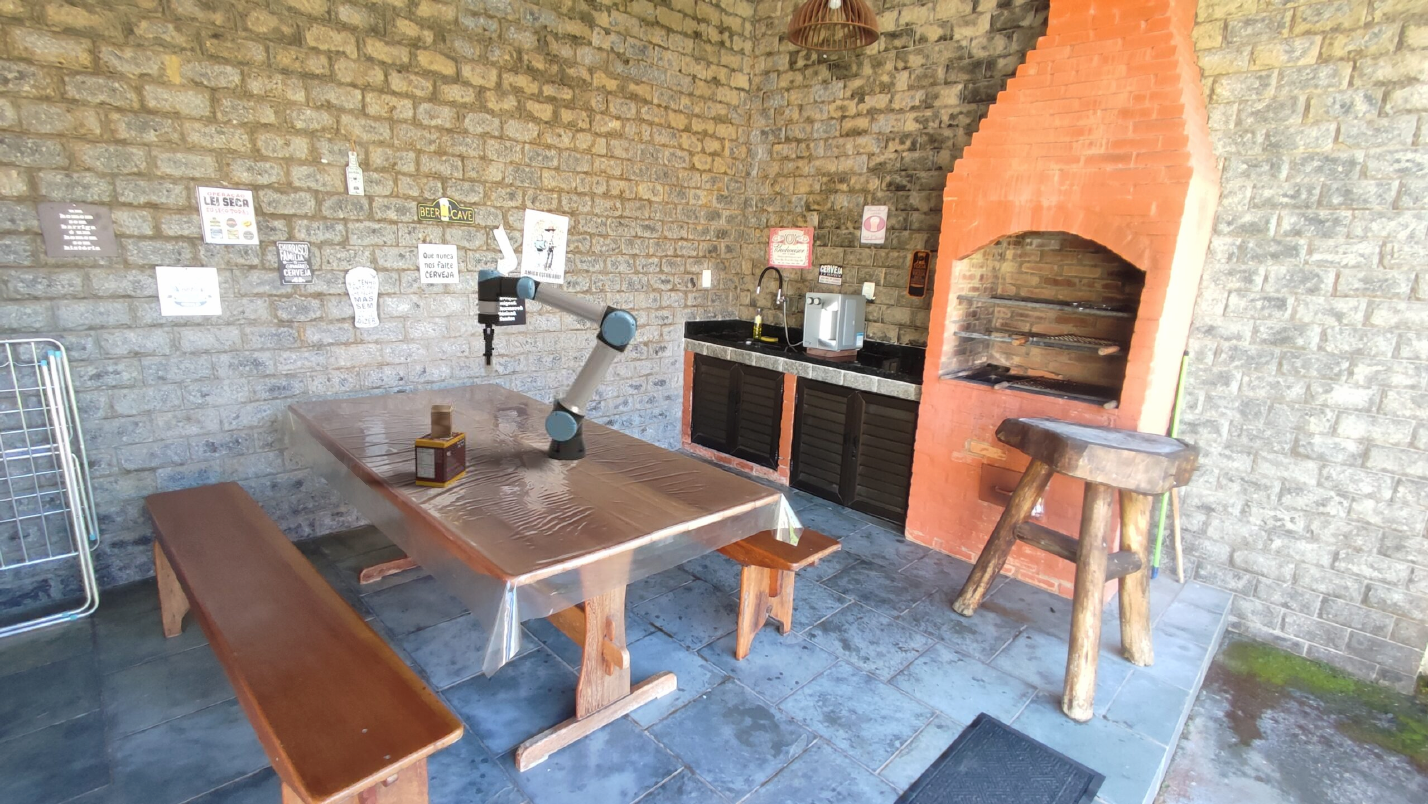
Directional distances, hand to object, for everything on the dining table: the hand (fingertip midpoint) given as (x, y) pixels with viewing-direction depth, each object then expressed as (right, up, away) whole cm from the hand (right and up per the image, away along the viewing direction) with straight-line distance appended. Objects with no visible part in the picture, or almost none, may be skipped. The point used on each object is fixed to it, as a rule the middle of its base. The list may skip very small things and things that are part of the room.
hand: (488, 370), depth 241 cm
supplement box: (-11, -38, -16) cm, 43 cm away
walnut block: (-9, -23, -19) cm, 31 cm away
